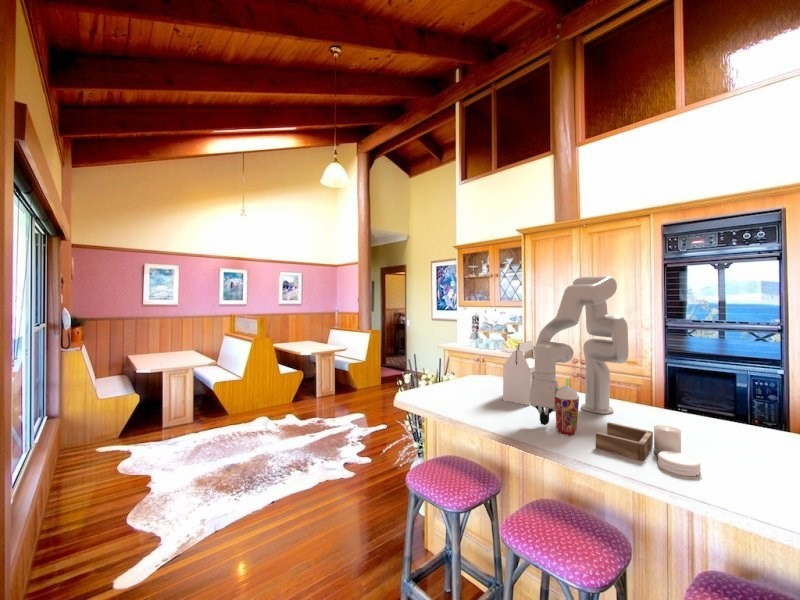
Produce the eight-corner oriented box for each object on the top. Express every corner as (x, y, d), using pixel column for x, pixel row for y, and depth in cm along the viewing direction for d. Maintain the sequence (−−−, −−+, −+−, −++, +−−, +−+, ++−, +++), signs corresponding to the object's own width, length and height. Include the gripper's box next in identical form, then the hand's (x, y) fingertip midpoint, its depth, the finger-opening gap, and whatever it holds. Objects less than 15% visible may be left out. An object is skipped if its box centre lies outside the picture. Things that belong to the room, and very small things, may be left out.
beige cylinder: (655, 447, 123) (655, 423, 123) (682, 453, 118) (682, 428, 118) (652, 454, 118) (652, 429, 118) (679, 460, 113) (679, 434, 113)
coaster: (708, 479, 102) (709, 466, 102) (669, 476, 104) (669, 463, 104) (687, 462, 112) (687, 451, 112) (651, 460, 114) (651, 449, 114)
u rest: (608, 435, 133) (608, 422, 133) (652, 446, 124) (652, 431, 124) (595, 448, 122) (595, 433, 122) (643, 460, 113) (643, 444, 113)
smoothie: (576, 438, 130) (576, 382, 130) (551, 433, 135) (551, 379, 135) (581, 431, 137) (581, 378, 136) (557, 427, 142) (557, 375, 141)
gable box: (521, 391, 194) (522, 338, 193) (547, 396, 185) (547, 341, 184) (502, 400, 177) (503, 342, 177) (529, 406, 168) (529, 345, 168)
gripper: (522, 375, 144) (521, 421, 144) (561, 381, 133) (560, 431, 133) (530, 372, 149) (530, 417, 149) (568, 378, 139) (568, 426, 139)
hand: (544, 423), depth 141 cm, fingers closed
